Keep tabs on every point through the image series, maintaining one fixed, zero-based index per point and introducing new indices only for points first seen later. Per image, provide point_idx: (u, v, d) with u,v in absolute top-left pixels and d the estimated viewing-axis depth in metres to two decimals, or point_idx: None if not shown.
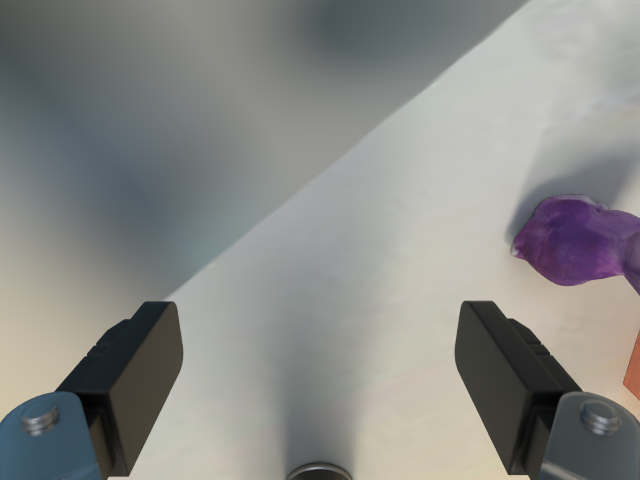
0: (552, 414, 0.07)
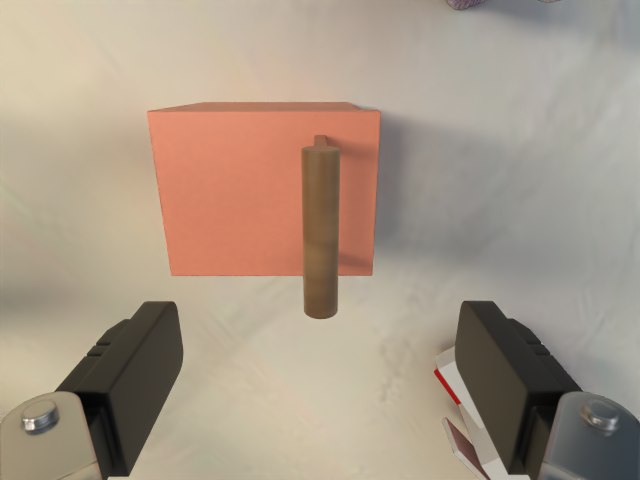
0: (552, 414, 0.07)
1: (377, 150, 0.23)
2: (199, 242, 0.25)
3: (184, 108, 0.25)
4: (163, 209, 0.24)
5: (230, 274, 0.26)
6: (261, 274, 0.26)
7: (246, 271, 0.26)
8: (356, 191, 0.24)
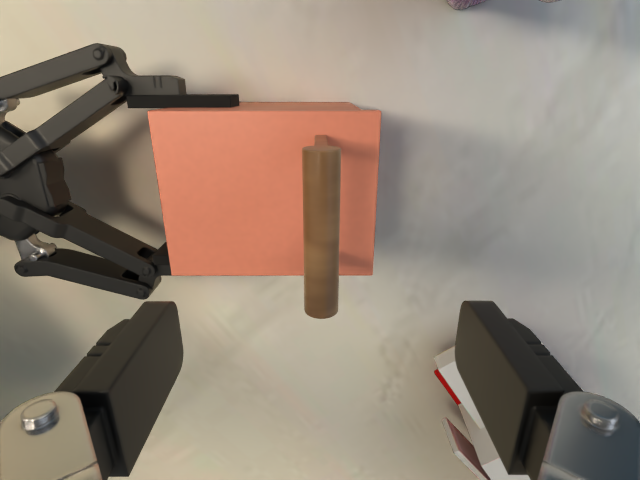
0: (552, 414, 0.07)
1: (377, 150, 0.23)
2: (199, 242, 0.25)
3: None
4: (163, 209, 0.24)
5: (230, 274, 0.26)
6: (261, 274, 0.26)
7: (246, 271, 0.26)
8: (356, 190, 0.24)
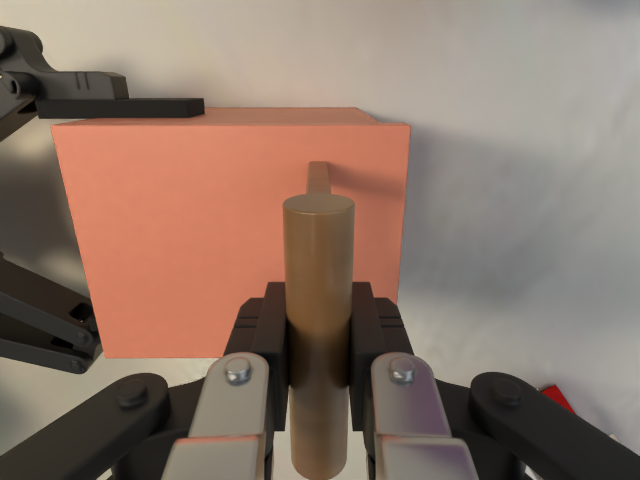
0: None
1: (404, 183, 0.15)
2: (142, 314, 0.17)
3: (119, 119, 0.17)
4: (85, 269, 0.16)
5: (189, 356, 0.18)
6: None
7: (212, 352, 0.18)
8: (371, 242, 0.16)
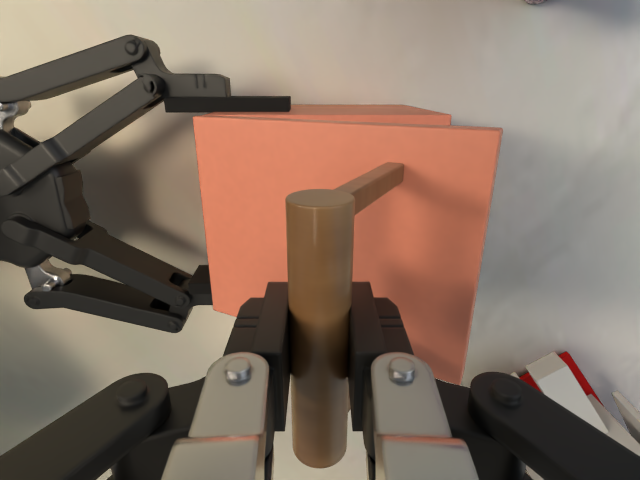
0: None
1: (487, 195, 0.14)
2: (240, 280, 0.20)
3: (235, 112, 0.21)
4: (206, 234, 0.20)
5: None
6: None
7: None
8: (445, 254, 0.15)
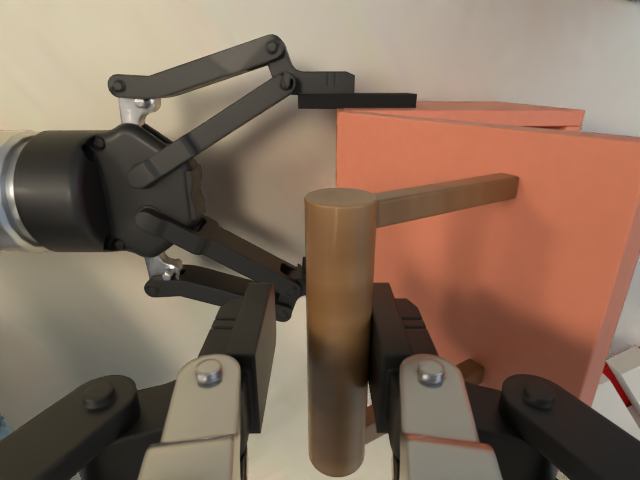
0: None
1: (624, 233, 0.10)
2: None
3: (367, 108, 0.22)
4: None
5: None
6: None
7: None
8: (557, 299, 0.12)
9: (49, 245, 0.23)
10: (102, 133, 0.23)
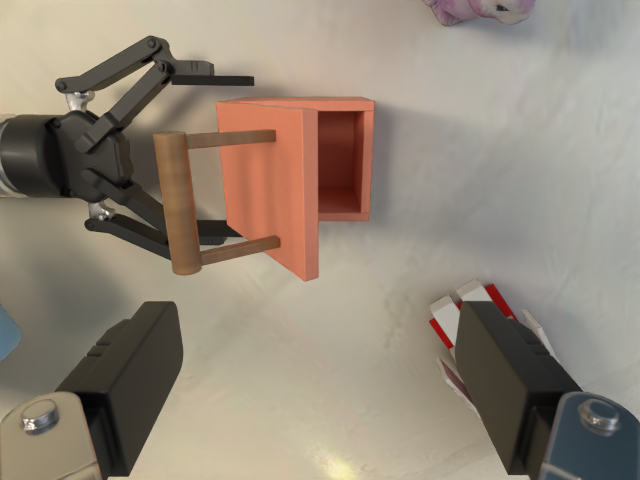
0: (552, 414, 0.07)
1: (301, 150, 0.22)
2: (233, 204, 0.32)
3: (243, 100, 0.34)
4: None
5: (244, 236, 0.32)
6: None
7: (249, 238, 0.31)
8: (292, 188, 0.24)
9: (23, 190, 0.35)
10: (59, 116, 0.35)
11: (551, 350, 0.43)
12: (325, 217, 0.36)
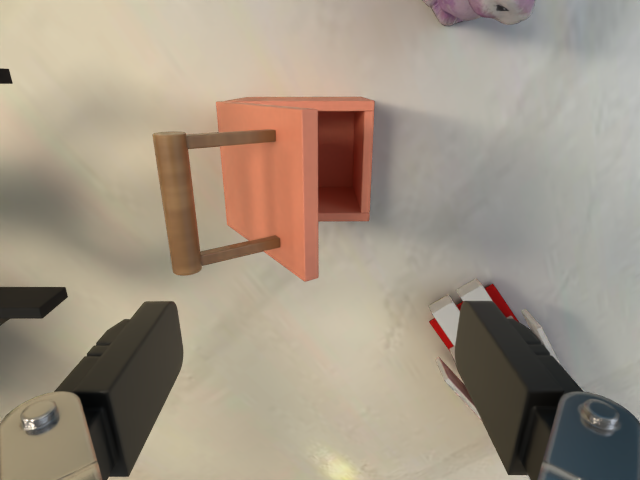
0: (552, 414, 0.07)
1: (301, 150, 0.22)
2: (233, 204, 0.32)
3: (243, 100, 0.34)
4: None
5: (244, 236, 0.32)
6: None
7: (249, 238, 0.31)
8: (292, 189, 0.24)
9: None
10: None
11: (551, 350, 0.43)
12: (325, 217, 0.36)
